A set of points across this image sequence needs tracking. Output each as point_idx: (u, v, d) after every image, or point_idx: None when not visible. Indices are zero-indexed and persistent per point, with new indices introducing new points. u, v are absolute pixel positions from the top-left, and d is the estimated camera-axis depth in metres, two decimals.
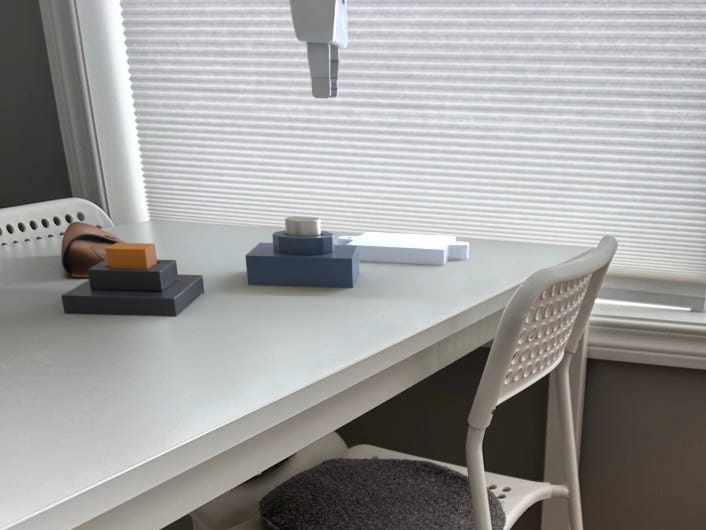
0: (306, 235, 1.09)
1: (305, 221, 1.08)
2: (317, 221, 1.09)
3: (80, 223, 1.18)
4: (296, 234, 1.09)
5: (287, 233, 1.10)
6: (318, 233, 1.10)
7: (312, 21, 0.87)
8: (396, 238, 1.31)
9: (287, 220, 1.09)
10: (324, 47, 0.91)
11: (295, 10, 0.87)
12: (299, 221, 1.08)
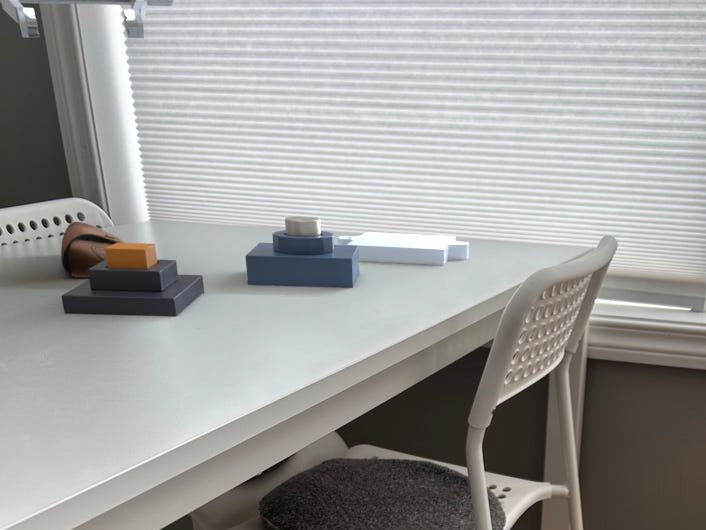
0: (306, 235, 1.09)
1: (305, 221, 1.08)
2: (317, 221, 1.09)
3: (80, 223, 1.18)
4: (296, 234, 1.09)
5: (287, 233, 1.10)
6: (318, 233, 1.10)
7: None
8: (396, 238, 1.31)
9: (287, 220, 1.09)
10: None
11: None
12: (299, 221, 1.08)
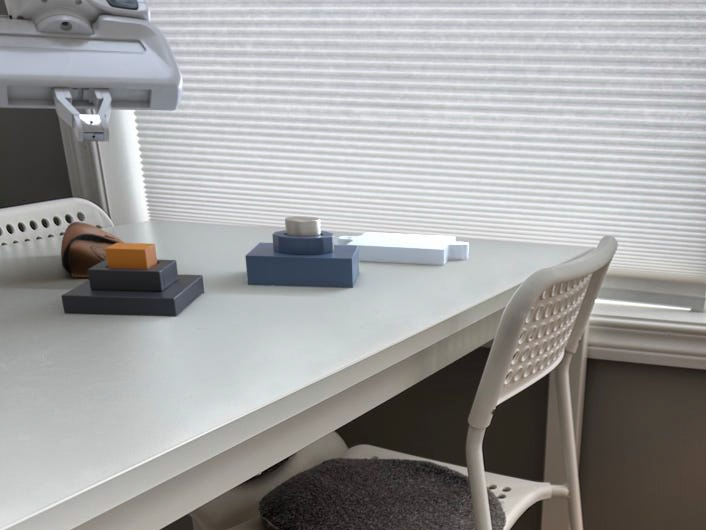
0: (306, 235, 1.09)
1: (305, 221, 1.08)
2: (317, 221, 1.09)
3: (80, 223, 1.18)
4: (296, 234, 1.09)
5: (287, 233, 1.10)
6: (318, 233, 1.10)
7: None
8: (396, 238, 1.31)
9: (287, 220, 1.09)
10: None
11: (178, 67, 0.96)
12: (299, 221, 1.08)
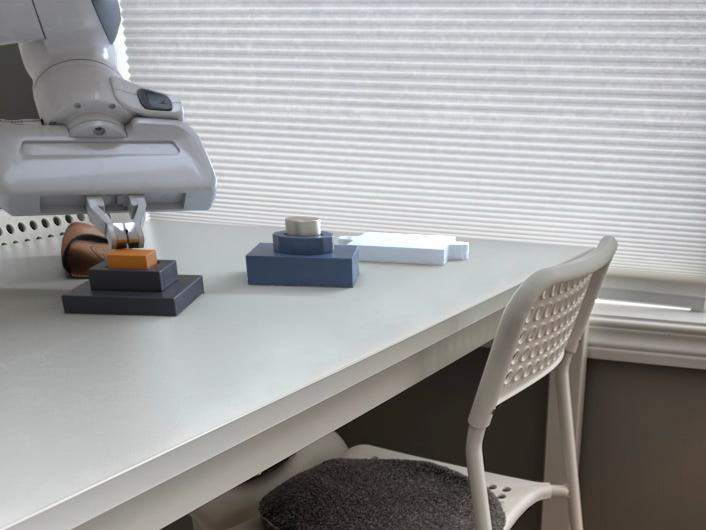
0: (306, 235, 1.09)
1: (305, 221, 1.08)
2: (317, 221, 1.09)
3: (80, 223, 1.18)
4: (296, 234, 1.09)
5: (287, 233, 1.10)
6: (318, 233, 1.10)
7: None
8: (396, 238, 1.31)
9: (287, 220, 1.09)
10: None
11: (213, 168, 0.94)
12: (299, 221, 1.08)
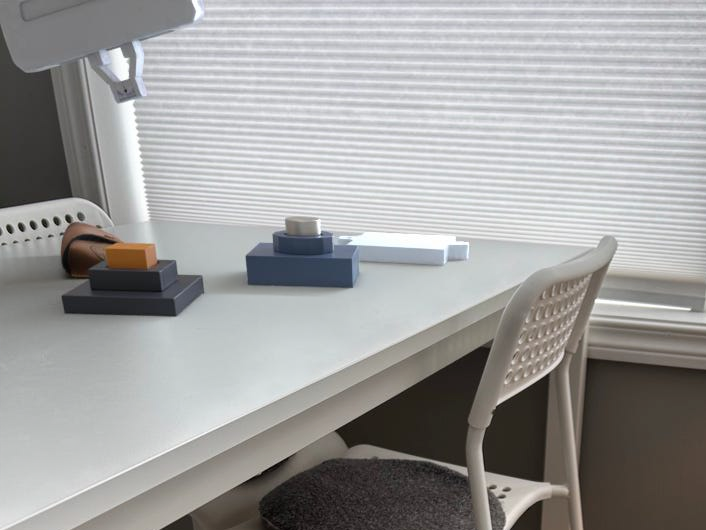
0: (306, 235, 1.09)
1: (305, 221, 1.08)
2: (317, 221, 1.09)
3: (80, 223, 1.18)
4: (296, 234, 1.09)
5: (287, 233, 1.10)
6: (318, 233, 1.10)
7: (198, 2, 0.93)
8: (396, 238, 1.31)
9: (287, 220, 1.09)
10: (139, 45, 0.96)
11: None
12: (299, 221, 1.08)
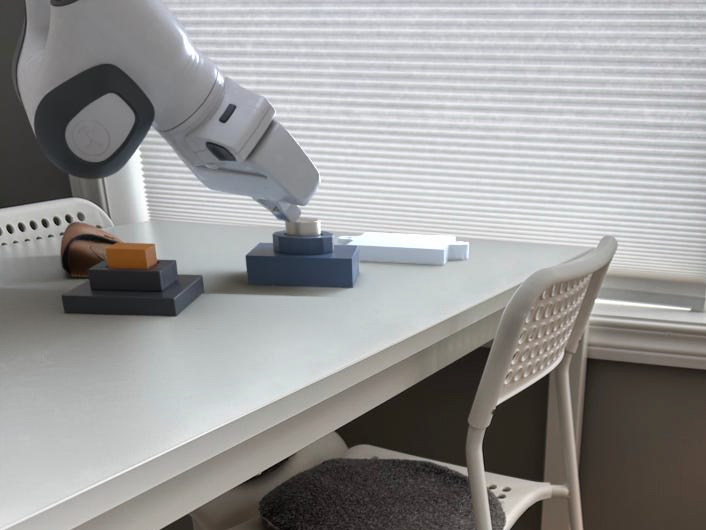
0: (306, 236, 1.09)
1: (305, 222, 1.08)
2: (317, 222, 1.09)
3: (79, 223, 1.18)
4: (296, 235, 1.09)
5: (287, 234, 1.10)
6: (318, 234, 1.10)
7: (308, 184, 0.98)
8: (396, 238, 1.31)
9: (287, 221, 1.09)
10: None
11: (295, 190, 0.97)
12: (299, 222, 1.08)
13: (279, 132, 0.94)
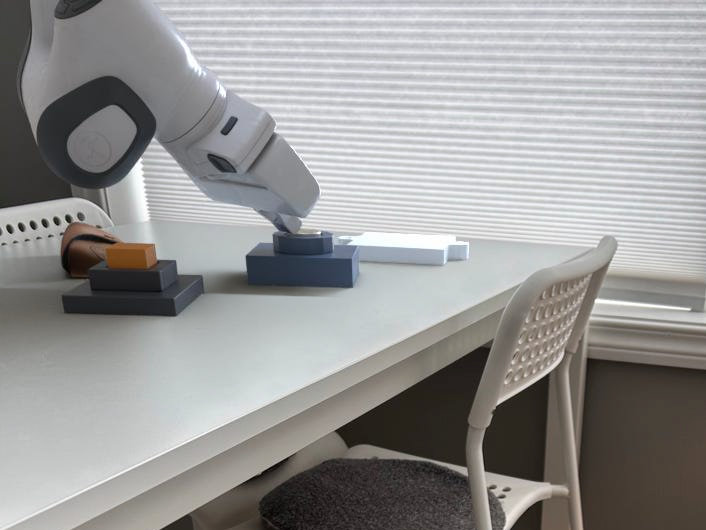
0: None
1: (306, 233, 1.09)
2: (318, 233, 1.10)
3: (79, 223, 1.18)
4: None
5: None
6: None
7: (308, 197, 0.98)
8: (396, 238, 1.31)
9: None
10: None
11: (295, 202, 0.97)
12: (300, 234, 1.09)
13: (280, 144, 0.95)
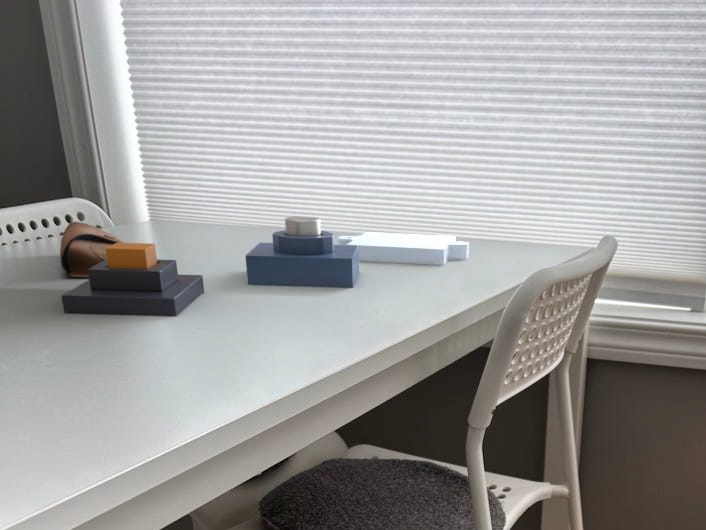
0: (306, 235, 1.09)
1: (305, 221, 1.08)
2: (317, 221, 1.09)
3: (79, 223, 1.18)
4: (296, 234, 1.09)
5: (287, 233, 1.10)
6: (318, 233, 1.10)
7: None
8: (396, 238, 1.31)
9: (287, 220, 1.09)
10: None
11: None
12: (299, 221, 1.08)
13: None
